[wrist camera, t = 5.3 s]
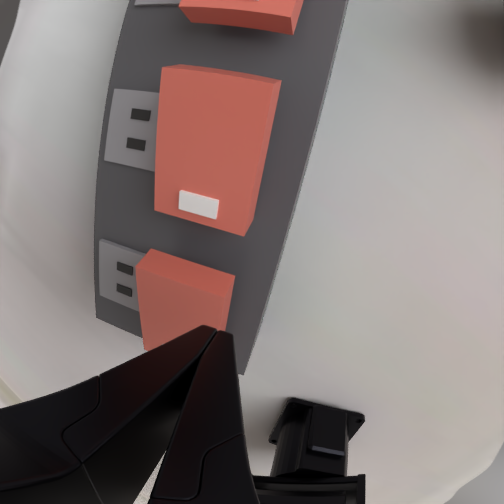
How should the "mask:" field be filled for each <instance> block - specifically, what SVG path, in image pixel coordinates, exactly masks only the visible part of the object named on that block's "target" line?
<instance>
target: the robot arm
mask: <svg viewBox="0 0 504 504" xmlns="http://www.w3.org/2000/svg"><path fill="white" fill-rule="evenodd" d="M364 422H365V416H364V415H363V414H360V413H355V412H350V411H346V410H341V409H337V408H332V407H328V406H324V405H320V404H316V403H312V402H308V401H304V400H300V399H296V398H291V399H289V400H288V401H287V403H286V405H285V407H284V409H283V411H282V413H281V415H280V417H279V419H278V421H277V423H276V425H275V427H274V429H273V431H272V433H271V435H270V436H269V442H270V443H272V444H275V445H277V447H276V452H275V456H274V460H273V465H272V469H271V473H270V476H256V475H252V474H251V470H250V466H249V460H248V454H247V447H246V439H245V435H244V424H243V415H242V406H241V397H240V387H239V378H238V368H237V358H236V348H235V338H234V335H233V334H232V333H228V332H225V331H222V330H219V331H218V330H217V329H216V328H213V327H210V326H207V325H200V326H198V327H196V328H194V329H192V330H190V331H188V332H186V333H184V334H182V335H180V336H178V337H176V338H174V339H172V340H170V341H168V342H166V343H164V344H162V345H160V346H158V347H156V348H154V349H152V350H150V351H148V352H146V353H144V354H142V355H140V356H137V357H135V358H133V359H131V360H129V361H127V362H125V363H123V364H121V365H119V366H116V367H114V368H112V369H110V370H108V371H106V372H104V373H101V374H100V375H99V376H95V377H92V378H90V379H88V380H86V381H84V382H81V383H79V384H76V385H74V386H72V387H69V388H67V389H64V390H61V391H58V392H55V393H52V394H49V395H46V396H43V397H40V398H36V399H33V400H29V401H26V402H23V403H19V404H15V405H12V406H8V407H5V408H0V504H133V503H134V501H135V499H136V498H137V496H138V495H139V493H140V492H141V490H142V488H143V487H144V485H145V484H146V482H147V480H148V479H149V477H150V475H151V474H152V472H153V471H154V469H155V467H156V466H157V464H158V463H159V461H160V459H161V458H162V456H163V454H164V453H165V451H166V453H165V455H164V458H163V461H162V464H161V467H160V469H159V472H158V475H157V478H156V481H155V483H154V486H153V489H152V492H151V495H150V499H149V501H148V503H147V504H365V474H359V475H358V476H347V464H348V442H349V441H350V439H351V438H352V437H353V436H354V434H355V433H356V432H357V431H358V429H359V428H360V427H361V426H362V424H363V423H364Z"/></svg>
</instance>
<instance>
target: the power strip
mask: <svg viewBox="0 0 504 504" xmlns="http://www.w3.org/2000/svg"><path fill="white" fill-rule="evenodd" d="M180 1H181V0H130V1H129V4H128V7H127V11H126V14H125V18H124V22H123V25H122V29H121V33H120V37H119V41H118V45H117V49H116V54H115V58H114V63H113V68H112V73H111V78H110V83H109V88H108V94H107V100H106V106H105V112H104V119H103V126H102V134H101V142H100V151H99V160H98V171H97V184H96V200H95V223H94V280H95V303H96V318H99V319H101V320H103V321H105V322H107V323H109V324H112V325H114V326H116V327H118V328H120V329H123V330H125V331H127V332H130V333H132V334H134V335H137V336H139V337H141V338H143V336H142V329H141V320H140V312H139V302H138V292H137V281H136V269H135V266H136V265H137V264H138V263H139V262H140V260H141V259H142V258H143V257H144V256H145V255H146V254H147V252H148V251H149V250H150V249H151V248H152V249H155V250H158V251H161V252H164V253H167V254H170V255H173V256H176V257H179V258H182V259H185V260H188V261H191V262H194V263H197V264H200V265H203V266H206V267H210V268H213V269H216V270H219V271H222V272H225V273H228V274H231V275H235V280H234V286H233V291H232V296H231V302H230V307H229V313H228V318H227V324H226V329H225V332H228V333H232V334H233V335H234V338H235V348H236V358H237V368H238V374H241V375H244V372H245V370H246V367H247V364H248V361H249V359H250V356H251V353H252V350H253V347H254V345H255V342H256V339H257V336H258V333H259V330H260V326H261V323H262V320H263V317H264V313H265V310H266V307H267V304H268V300H269V297H270V294H271V290H272V287H273V284H274V280H275V277H276V274H277V270H278V267H279V263H280V260H281V257H282V253H283V250H284V246H285V243H286V239H287V236H288V232H289V229H290V225H291V222H292V218H293V215H294V211H295V208H296V204H297V201H298V197H299V193H300V190H301V186H302V183H303V179H304V175H305V172H306V168H307V164H308V161H309V157H310V153H311V149H312V146H313V142H314V138H315V134H316V131H317V127H318V123H319V119H320V115H321V111H322V107H323V104H324V100H325V96H326V92H327V88H328V84H329V80H330V76H331V72H332V68H333V64H334V59H335V55H336V51H337V47H338V43H339V39H340V34H341V30H342V26H343V22H344V17H345V13H346V9H347V4H348V0H304V1H303V4H302V8H301V11H300V14H299V18H298V21H297V24H296V28H295V31H294V34H293V35H288V34H283V33H278V32H272V31H266V30H260V29H253V28H245V27H237V26H229V25H219V24H207V23H191V22H190V20H189V19H188V18H187V17H186V15H185V14H184V13H183V12H182V10H181V9H180V8H179V7H178V6H179V3H180ZM178 64H183V65H192V66H201V67H209V68H216V69H223V70H229V71H235V72H241V73H247V74H253V75H258V76H263V77H268V78H273V79H278V80H282V81H281V86H280V91H279V96H278V101H277V106H276V111H275V115H274V120H273V125H272V130H271V135H270V140H269V145H268V149H267V154H266V159H265V164H264V169H263V174H262V179H261V184H260V189H259V194H258V199H257V204H256V209H255V213H254V218H253V221H252V223H251V225H250V227H249V228H248V230H247V232H246V234H245V236H240V235H237V234H234V233H230V232H227V231H223V230H220V229H217V228H213V227H210V226H207V225H203V224H200V223H196V222H193V221H189V220H186V219H183V218H179V217H176V216H172V215H169V214H165V213H162V212H159V211H155V210H154V199H155V158H156V136H157V120H158V106H159V93H160V82H161V72H162V67H166V66H172V65H178Z"/></svg>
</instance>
